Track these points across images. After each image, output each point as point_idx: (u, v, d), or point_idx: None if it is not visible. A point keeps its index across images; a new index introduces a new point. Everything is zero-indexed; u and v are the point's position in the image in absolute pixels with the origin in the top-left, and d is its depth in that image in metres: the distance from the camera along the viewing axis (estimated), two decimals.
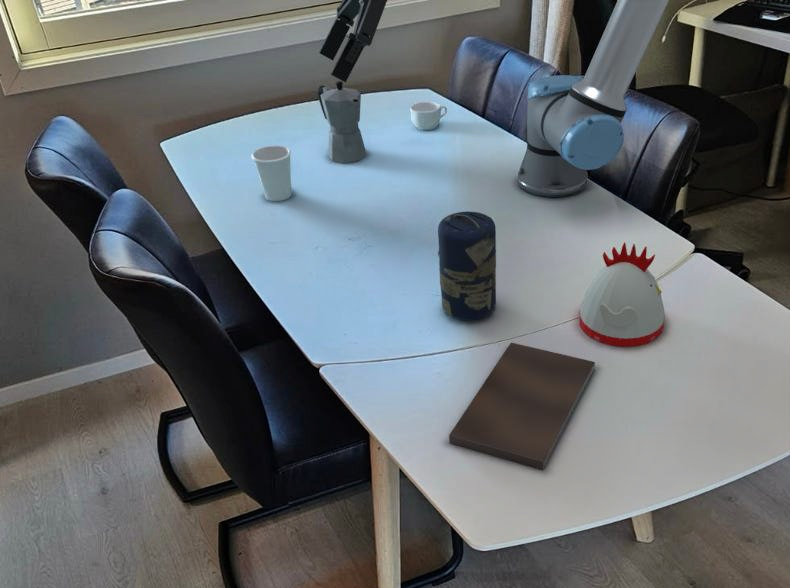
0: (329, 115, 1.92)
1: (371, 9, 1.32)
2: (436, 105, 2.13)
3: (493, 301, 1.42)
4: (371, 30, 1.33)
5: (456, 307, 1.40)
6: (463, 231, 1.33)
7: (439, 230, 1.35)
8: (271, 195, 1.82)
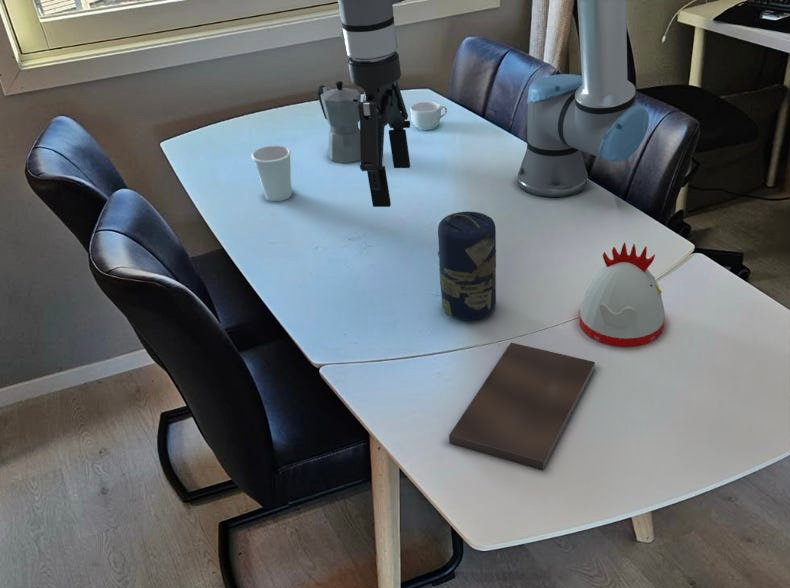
0: (329, 115, 1.92)
1: (363, 135, 1.22)
2: (436, 105, 2.13)
3: (493, 301, 1.42)
4: (372, 155, 1.22)
5: (456, 307, 1.40)
6: (463, 231, 1.33)
7: (439, 230, 1.35)
8: (271, 195, 1.82)
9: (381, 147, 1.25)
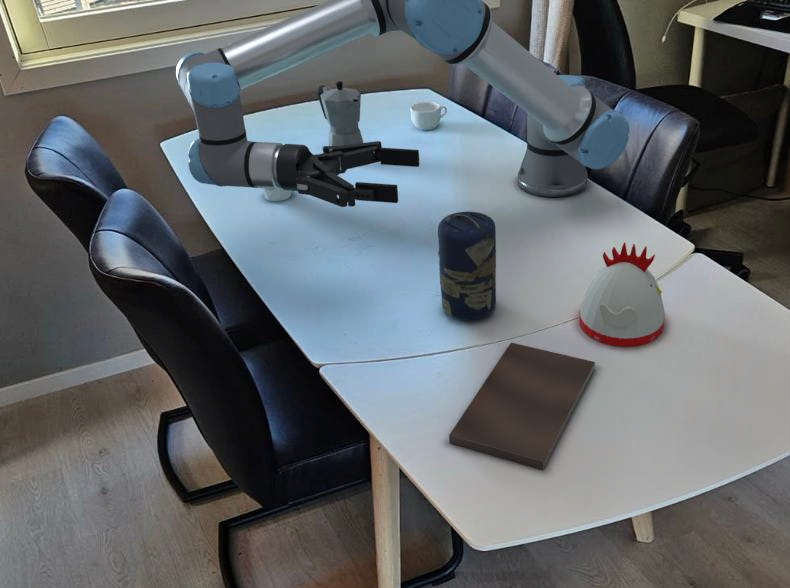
0: (329, 115, 1.92)
1: (319, 195, 1.29)
2: (436, 105, 2.13)
3: (493, 301, 1.42)
4: (332, 193, 1.27)
5: (456, 307, 1.40)
6: (463, 231, 1.33)
7: (439, 230, 1.35)
8: (271, 195, 1.82)
9: (339, 181, 1.29)
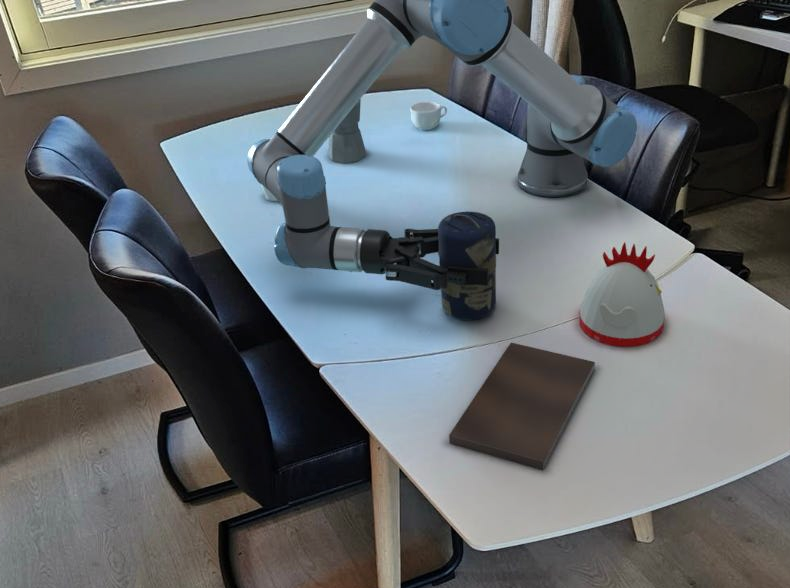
0: None
1: (410, 281, 1.36)
2: (436, 105, 2.13)
3: (493, 301, 1.42)
4: (426, 278, 1.34)
5: (456, 307, 1.40)
6: (463, 231, 1.33)
7: (439, 230, 1.35)
8: (271, 195, 1.82)
9: (429, 265, 1.36)
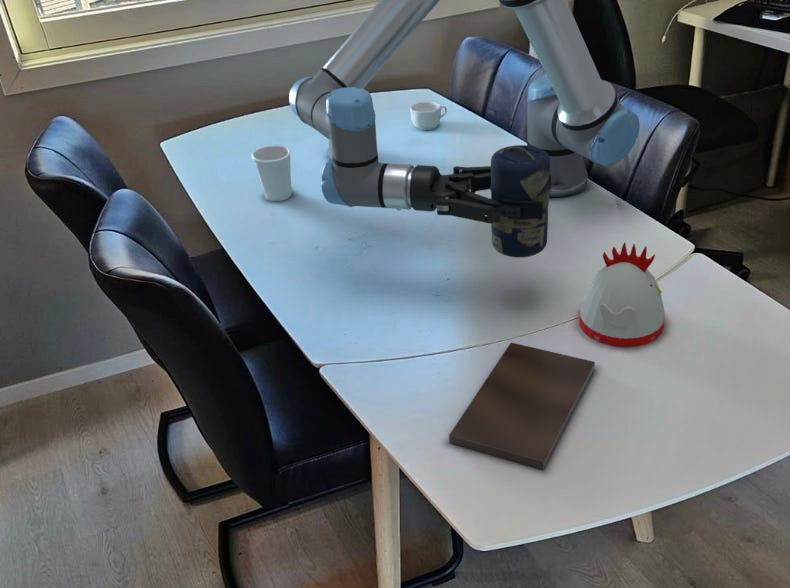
0: None
1: (463, 215, 1.33)
2: (436, 105, 2.13)
3: (545, 238, 1.39)
4: (479, 211, 1.31)
5: (508, 243, 1.37)
6: (518, 162, 1.30)
7: (492, 162, 1.32)
8: (271, 195, 1.82)
9: (482, 199, 1.33)
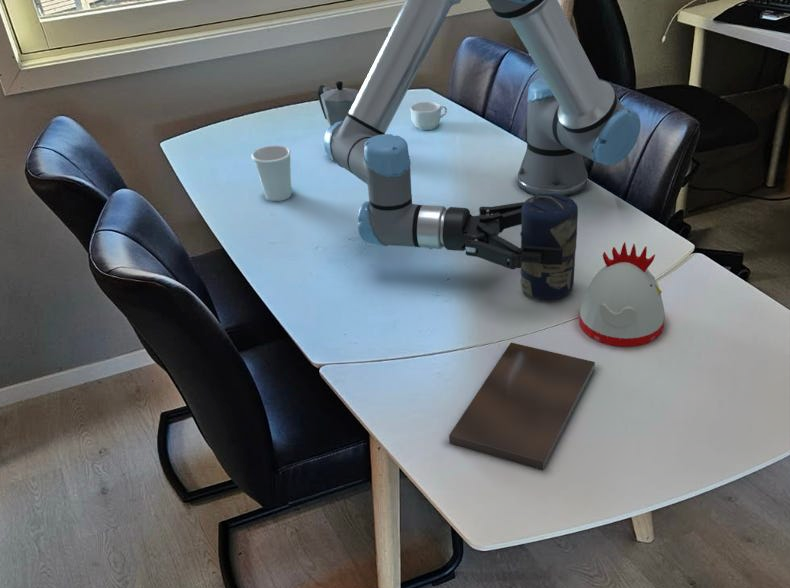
0: (329, 115, 1.92)
1: (488, 258, 1.40)
2: (436, 105, 2.13)
3: (572, 281, 1.47)
4: (502, 256, 1.37)
5: (537, 286, 1.45)
6: (548, 212, 1.37)
7: (523, 211, 1.40)
8: (271, 195, 1.82)
9: (506, 244, 1.39)
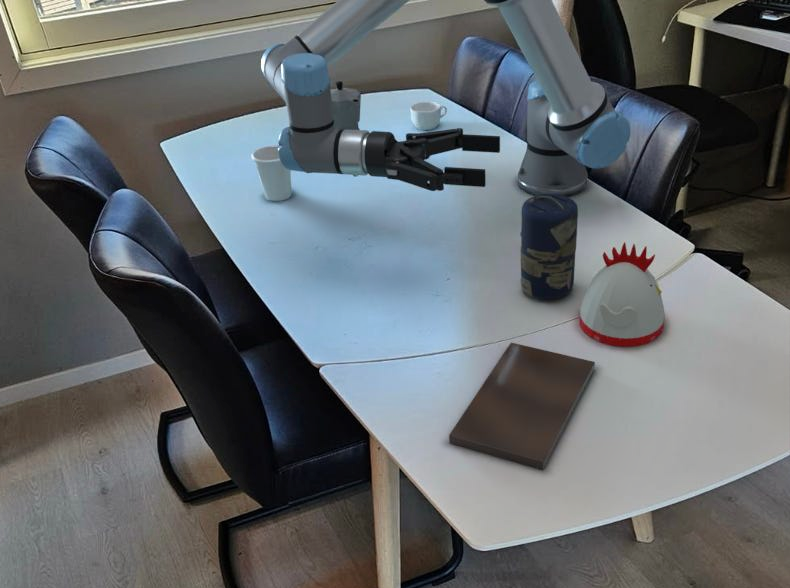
0: None
1: (409, 180, 1.34)
2: (436, 105, 2.13)
3: (572, 281, 1.47)
4: (422, 177, 1.32)
5: (537, 286, 1.45)
6: (548, 212, 1.37)
7: (524, 211, 1.40)
8: (271, 195, 1.82)
9: (428, 166, 1.34)
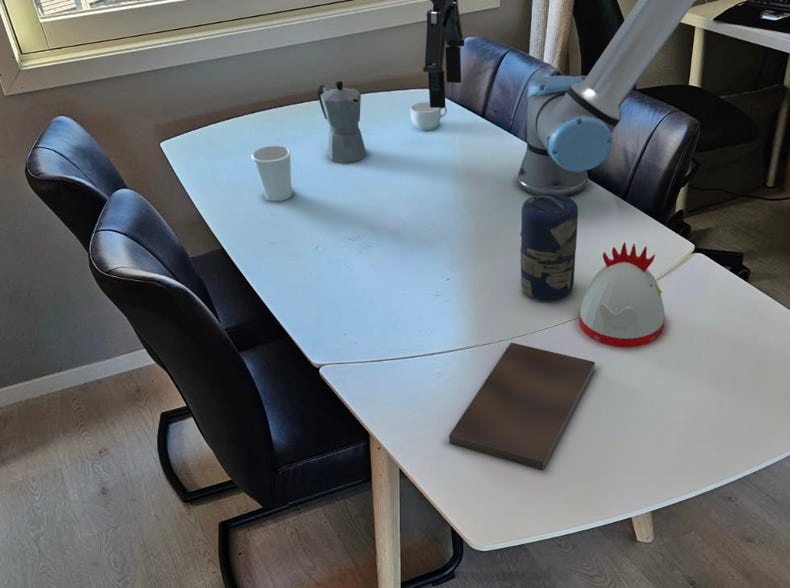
0: (329, 115, 1.92)
1: (429, 39, 1.43)
2: None
3: (572, 281, 1.47)
4: (435, 58, 1.43)
5: (537, 286, 1.45)
6: (548, 212, 1.37)
7: (524, 211, 1.40)
8: (271, 195, 1.82)
9: (442, 53, 1.46)
